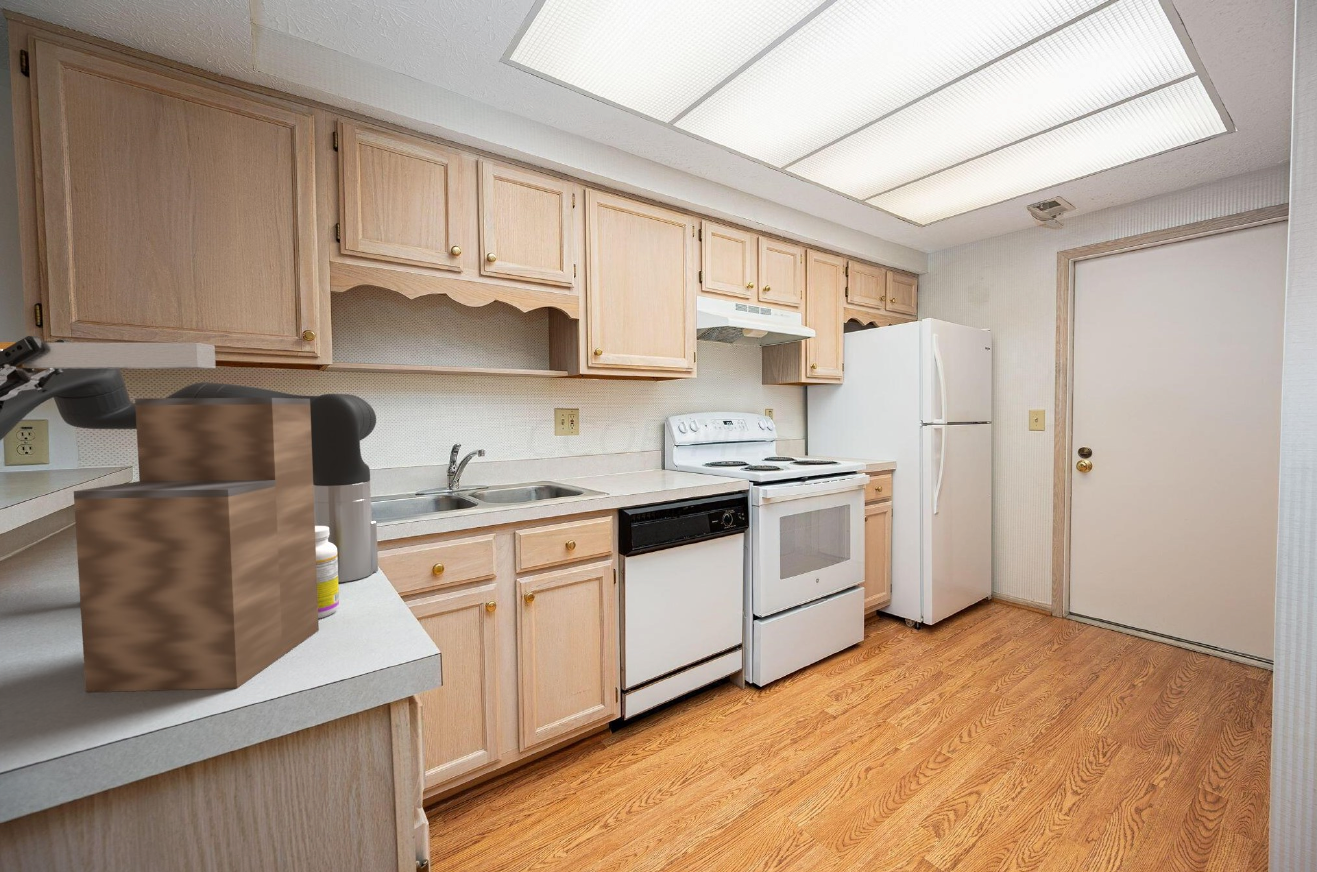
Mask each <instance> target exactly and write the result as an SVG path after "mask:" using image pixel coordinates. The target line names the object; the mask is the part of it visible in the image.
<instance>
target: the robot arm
mask: <svg viewBox="0 0 1317 872" xmlns="http://www.w3.org/2000/svg"><path fill="white" fill-rule="evenodd" d="M15 342H16V343H15V344H13V345H11V346H9V347H7V348H6V349H4V350H3V349H0V441H2V440H3V439H4V438H5V437H6V436H7V435H8V434H9V433H10V432H11V431H12V430H13V429H14V428H15V427H17V425H18V424H19V423H20V422H21V421H22V420H23V419H24V418H25V417H26V416H27V415H29V414H30V413H31V412H32V411H33V410H34V409H36V408H37V407H39V406H41V404H43V403H45V402H46V401H48V400H50V399H53V400H54V401H55V405H56V407H57V410H58V412H59V415H60V416H61V418H62V421H64V422H65V423H66V424H67V425H69V426H72V427H75V428H79V429H90V430H91V429H93V430H137V426H136V408H135V402H133V401H131V398H130V396H129V393H128V390H127V386H126V383H125V380H124V377H123V375H122V373H121V370H120V369H16V366H21V365H22V364H25V363H26V362H28V361H30V360H32V359H33V358H35V357H37V356H38V355H40V354H42V353H44V352H45V347H44V346H43V344H42V343H43V342H42V340H41V339H40V338H39V337H38V336H34V335H33V336H32V335H27V336H25V337H24V338H21V339H20V340H17V341H15ZM52 343H70V341H69V340H67V339H60V338H59V339H56V340H55V341H53V342H52ZM15 365H16V366H15ZM165 398H300V399H310V412H311V439H312V465H313V491H314V518H315V526H327V527H329V534H330V535H329V537H328V542H330V543H332V544H334V545H335V546H336V548H337V557H338V583H345V582H351V581H355V580H360V579H364V578H366V577H368V576H370V575H372V574H374V573H375V572H378V571H379V558H378V557H379V556H378V553H379V552H378V530H377V528H378V526H377V521H376V520H373V518H372V497H371V495H372V493H371V469H370V467H369V465H368V464H367V463H365V461H364V459H363V458H362V453H361V441H363V440H364V439H366V438H367V437H368V436H369V435H370V434H371V433H372V432H373V431H374V429H375V427H376V424H377V415H376V412H375V411H374V408H373V407H372V406H371V404H370V403H368V401H366V400H365V399H363V398H362V397H359V396H356V395H354V394H347V393H346V394H345V393H324V394H320V395H302V394H299V395H298V394H292V393H288V392H281V391H277V390H273V389H272V390H271V389H265V388H259V387H252V386H247V385H238V384H230V383H220V382H219V383H218V382H210V381H209V382H208V381H207V382H206V381H204V382H196V383H192V384H190V385H189V384H188V385H187V386H185V387H182V388H181V389H178V390H177V391H175V392H173V393H171V394H170V395H167V397H165Z"/></svg>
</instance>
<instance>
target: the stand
mask: <svg viewBox="0 0 1317 872" xmlns="http://www.w3.org/2000/svg"><path fill="white" fill-rule="evenodd" d="M134 403H135V408H136V426H137V429H136V441H137V443H136V444H137V445H136V446H137V458H138V459H137V460H138V477H139V479H138V480H139V481H134V482H133V481H132V482H126V483H120V484H119V483H118V484H114V485H108V486H107V485H106V486H100V487H93V488H87V489H79V490H73V502H74V503H73V505H74V517H75V518H74V519H75V534H76V535H75V536H76V550H77V570H78V571H77V572H78V585H79V588H78V589H79V601H80V602H79V603H80V619H81V621H80V622H81V633H82V634H81V636H82V651H83V654H82V655H83V666H84V667H83V668H84V684H85V685H84V686H85V693H98V692H99V693H100V692H101V693H103V692H105V693H106V692H135V691H136V692H138V691H139V692H142V691H144V692H145V691H177V690H179V691H181V690H218V689H219V690H220V689H222V690H223V689H238V688H240V687H241V686H242V685H244V684H246V682H249V680H251V679H252V678H254V677H255V676H256V675H258V674H259V673H261V672H262V671H263V670H265V669H266V668H268V667H269V666H271V665H272V664H274V663H275V662H277V661H278V660H279V659H280V658H282V657H283V656H285V655H287V654H288V653H289V652H291V651H292V650H294V649H295V648H297V647H298V646H300V644H302V643H304V641H306V640H308V639H309V638H310V637H313V635H314V634H316V633H318V632H319V630H320V629H319V628H320V627H319V624H320V623H319V619H318V596H317V570H316V544H315V518H314V491H313V465H312V439H311V412H310V399H300V398H166V397H165V398H164V397H163V398H161V397H159V398H157V397H156V398H155V397H153V398H152V397H151V398H144V397H143V398H135V399H134Z"/></svg>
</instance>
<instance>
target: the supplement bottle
mask: <svg viewBox="0 0 1317 872" xmlns="http://www.w3.org/2000/svg"><path fill="white" fill-rule="evenodd" d="M329 535H330V534H329V527H327V526H315V544H316V570H317V596H318V620H319V619H323V618H326V617H328V616H331V615H332V614H334V613H335V612H337V611H338V610H339V607H340V592H339V582H338V557H337V548H336V546H335V545H334V544H332V543H330V542H328V537H329Z"/></svg>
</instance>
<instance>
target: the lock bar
mask: <svg viewBox="0 0 1317 872" xmlns="http://www.w3.org/2000/svg"><path fill="white" fill-rule="evenodd" d="M16 342H17V341H13V342H11V341H9V342H8V341H7V342H6V341H5V342H1V341H0V349H3V350H4V349H6V348H7V347H9V346H11V345H13V344H15V343H16ZM42 344H43V346H44V347H45V352H44V353H42V354H40V355H38V356H37V357H35V358H33V359H32V360H30V361H28V362H26V363H25V364H22V365H21V366H16V365H15V366H16V370H17V369H32V370H34V369H119V370H120V369H121V370H122V369H125V370H127V369H128V370H129V369H130V370H131V369H133V370H134V369H136V370H137V369H139V370H140V369H141V370H142V369H143V370H144V369H147V370H148V369H155V370H156V369H158V370H159V369H162V370H163V369H166V370H167V369H168V370H169V369H170V370H171V369H172V370H173V369H174V370H175V369H176V370H177V369H186V370H187V369H188V370H189V369H194V370H195V369H201V370H202V369H210V370H211V369H216V368H217V367H216V350H215V349H216V348H215V345H214V344H208V343H200V342H69V343H53V342H42Z"/></svg>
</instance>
